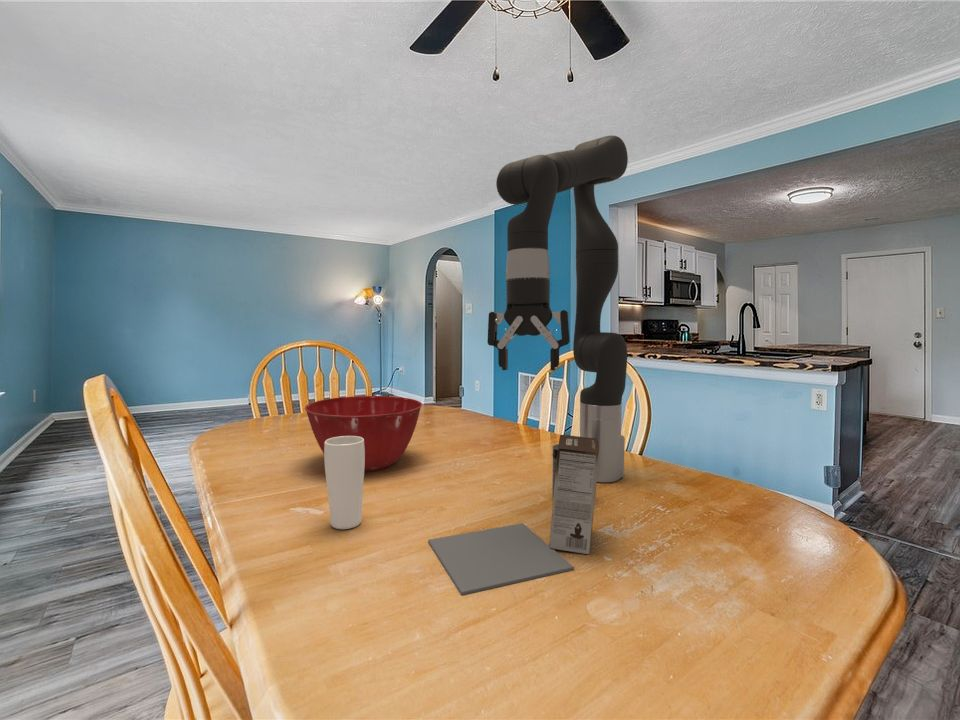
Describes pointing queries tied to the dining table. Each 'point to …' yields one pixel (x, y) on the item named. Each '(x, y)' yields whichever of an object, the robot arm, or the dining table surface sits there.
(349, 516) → the drinking glass
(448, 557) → the slate mat
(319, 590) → the dining table surface
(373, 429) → the mixing bowl
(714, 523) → the dining table surface
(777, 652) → the dining table surface
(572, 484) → the coffee box
